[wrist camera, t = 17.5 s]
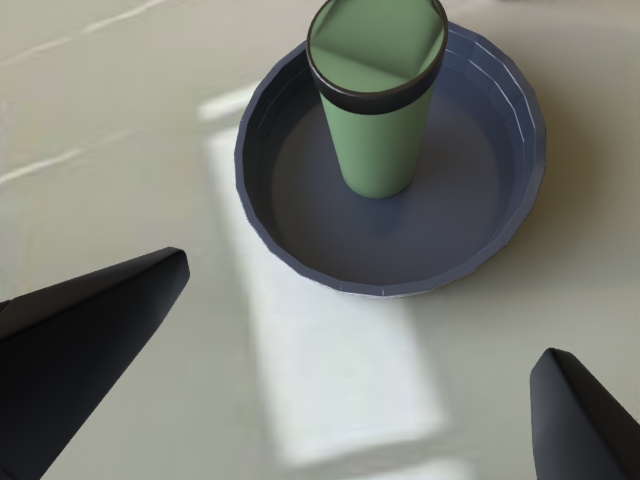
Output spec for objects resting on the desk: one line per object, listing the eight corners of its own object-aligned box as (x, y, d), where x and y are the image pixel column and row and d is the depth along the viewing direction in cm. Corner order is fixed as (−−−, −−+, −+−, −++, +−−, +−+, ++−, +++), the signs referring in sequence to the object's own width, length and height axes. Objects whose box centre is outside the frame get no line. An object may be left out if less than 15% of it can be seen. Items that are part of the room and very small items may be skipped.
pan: (468, 345, 20) (486, 352, 16) (214, 240, 24) (187, 228, 21) (556, 85, 22) (586, 45, 19) (311, 33, 27) (301, -7, 23)
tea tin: (428, 186, 22) (471, 65, 11) (351, 210, 22) (325, 116, 12) (402, 119, 23) (420, -44, 13) (331, 144, 24) (291, 6, 13)
